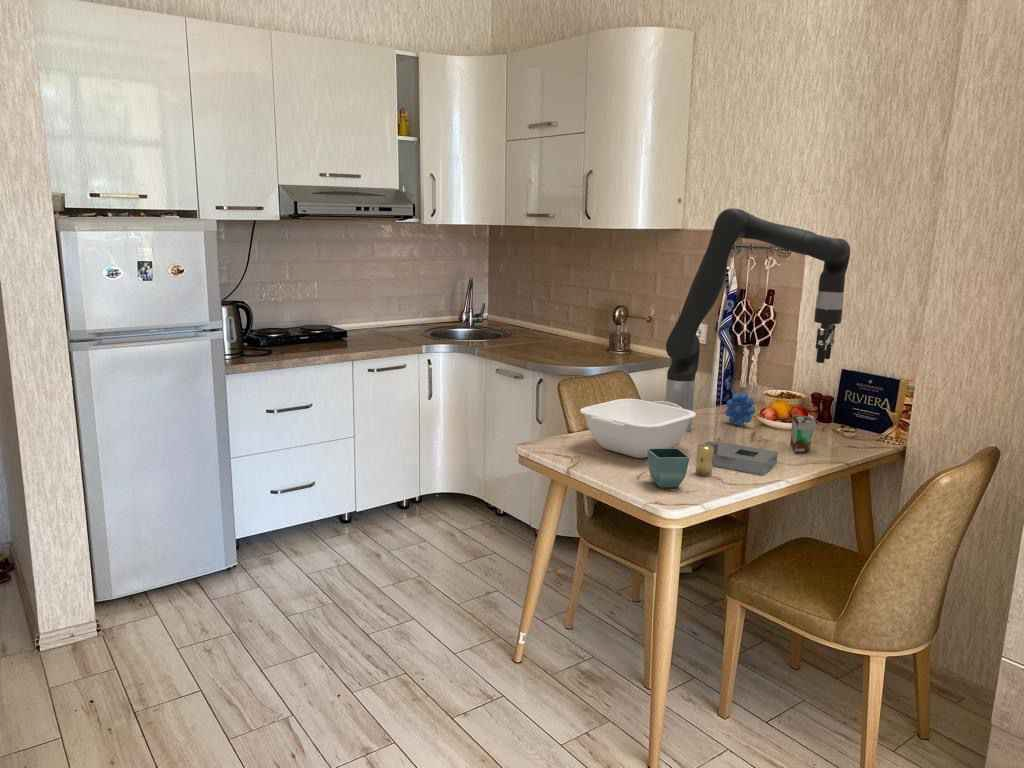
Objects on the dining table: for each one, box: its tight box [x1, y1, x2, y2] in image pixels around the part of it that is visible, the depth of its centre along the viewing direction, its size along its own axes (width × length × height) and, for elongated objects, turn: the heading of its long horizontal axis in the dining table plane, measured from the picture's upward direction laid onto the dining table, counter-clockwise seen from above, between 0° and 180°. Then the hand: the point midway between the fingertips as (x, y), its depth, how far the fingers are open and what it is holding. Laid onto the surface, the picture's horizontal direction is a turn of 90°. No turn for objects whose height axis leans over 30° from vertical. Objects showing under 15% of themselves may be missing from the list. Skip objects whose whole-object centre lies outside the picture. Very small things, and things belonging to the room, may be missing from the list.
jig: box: [704, 440, 779, 476], centre depth 226 cm, size 18×14×6 cm
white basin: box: [579, 398, 697, 459], centre depth 237 cm, size 34×28×13 cm
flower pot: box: [647, 447, 690, 489], centre depth 206 cm, size 9×9×9 cm
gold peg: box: [695, 443, 714, 478], centre depth 216 cm, size 4×4×8 cm
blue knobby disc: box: [724, 392, 756, 427], centre depth 269 cm, size 12×7×12 cm, turn 39°
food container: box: [789, 413, 817, 455], centre depth 241 cm, size 12×6×10 cm, turn 168°
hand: (823, 360), depth 234 cm, fingers open, 8 cm apart
